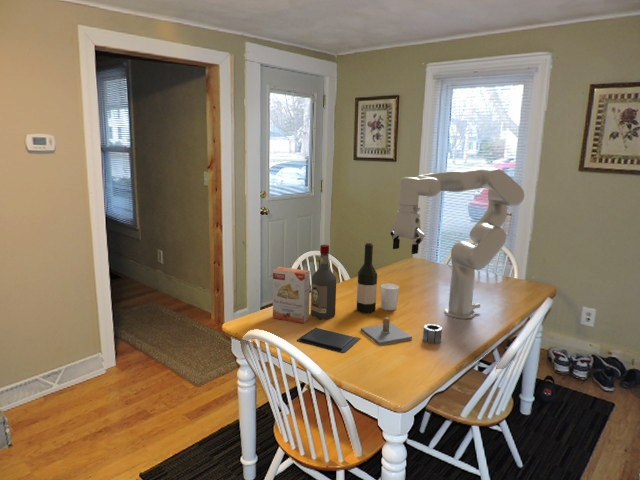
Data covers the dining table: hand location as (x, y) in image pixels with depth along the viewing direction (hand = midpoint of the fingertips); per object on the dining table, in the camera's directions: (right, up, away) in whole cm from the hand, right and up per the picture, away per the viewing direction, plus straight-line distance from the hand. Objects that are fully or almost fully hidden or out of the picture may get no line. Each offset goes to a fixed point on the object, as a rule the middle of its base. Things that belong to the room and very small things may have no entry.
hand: (405, 251), depth 190 cm
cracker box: (-46, -28, +4) cm, 54 cm away
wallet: (-31, -33, -15) cm, 48 cm away
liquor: (-33, -27, +9) cm, 44 cm away
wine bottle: (-14, -26, +16) cm, 34 cm away
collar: (+8, -33, -13) cm, 36 cm away
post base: (-9, -32, -9) cm, 34 cm away
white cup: (-4, -26, +20) cm, 33 cm away
